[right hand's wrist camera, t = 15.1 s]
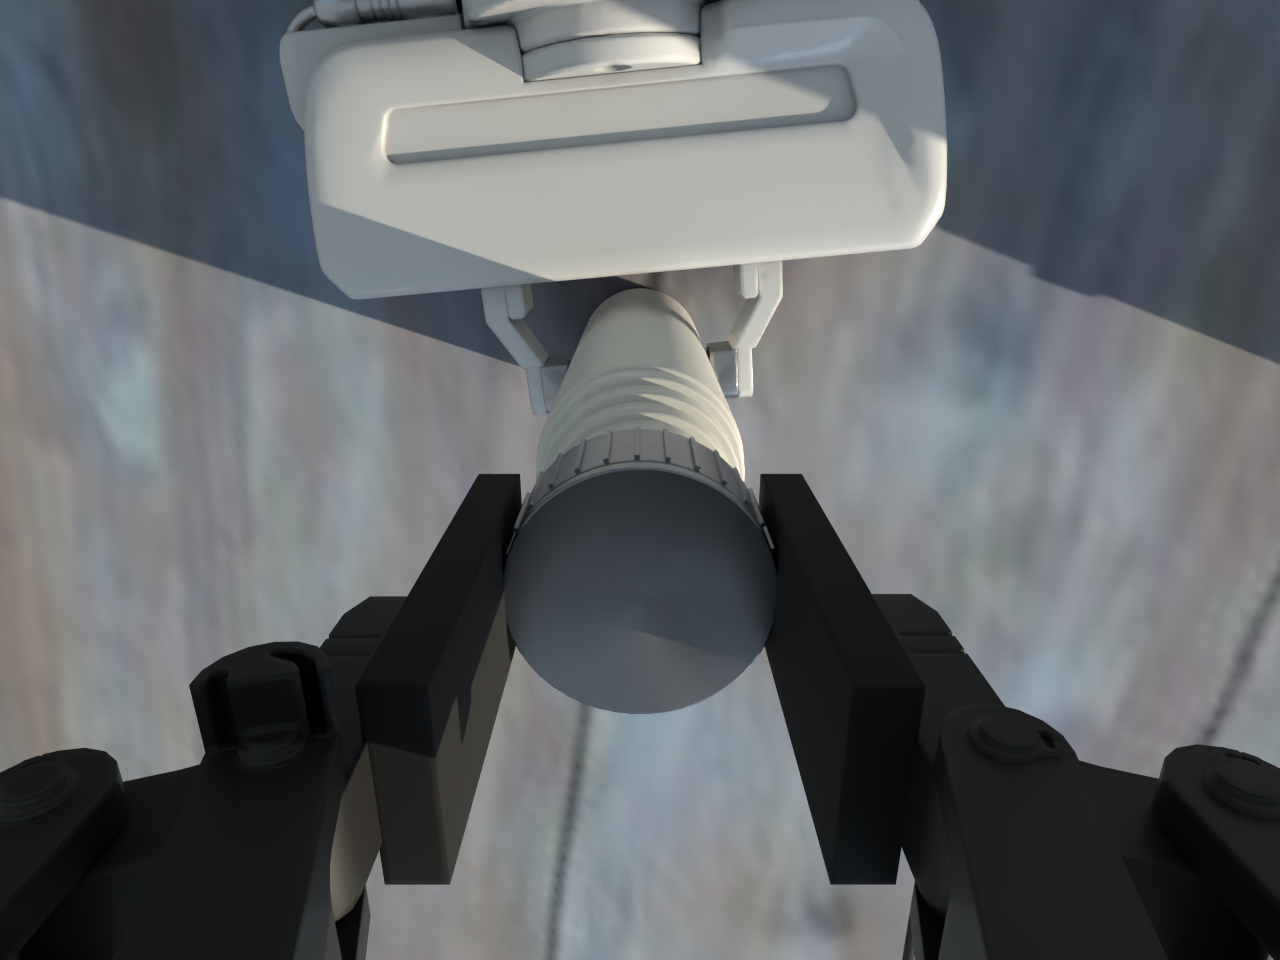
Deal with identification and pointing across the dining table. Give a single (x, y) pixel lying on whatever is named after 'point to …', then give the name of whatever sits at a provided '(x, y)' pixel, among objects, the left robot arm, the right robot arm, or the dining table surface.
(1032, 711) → the dining table surface
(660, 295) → the bottle
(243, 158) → the dining table surface
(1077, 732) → the dining table surface
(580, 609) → the cap
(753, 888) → the dining table surface
